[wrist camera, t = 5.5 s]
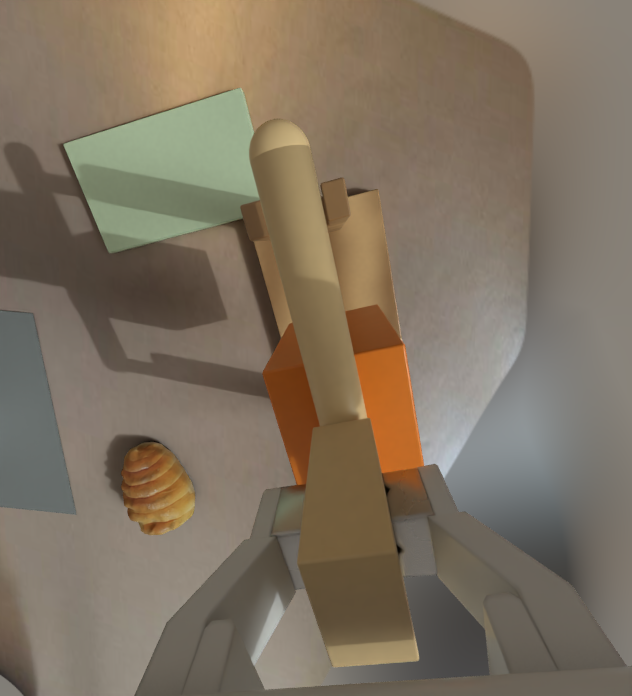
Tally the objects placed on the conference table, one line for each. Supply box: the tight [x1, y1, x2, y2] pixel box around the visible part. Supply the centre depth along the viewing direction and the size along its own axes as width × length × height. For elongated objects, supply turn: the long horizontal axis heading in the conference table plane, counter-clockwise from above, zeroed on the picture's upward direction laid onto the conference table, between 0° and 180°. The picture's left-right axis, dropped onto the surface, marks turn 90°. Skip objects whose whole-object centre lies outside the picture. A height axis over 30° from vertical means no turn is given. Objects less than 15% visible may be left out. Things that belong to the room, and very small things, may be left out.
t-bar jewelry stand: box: [249, 119, 424, 667], centre depth 12 cm, size 5×20×13 cm, turn 13°
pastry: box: [121, 442, 195, 535], centre depth 32 cm, size 9×7×4 cm
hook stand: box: [240, 178, 402, 340], centre depth 20 cm, size 10×19×16 cm, turn 13°
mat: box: [63, 88, 260, 253], centre depth 24 cm, size 14×8×1 cm, turn 103°
